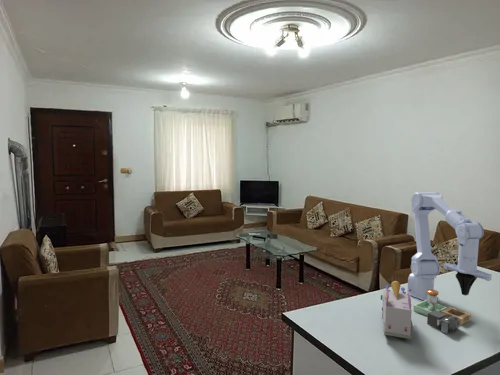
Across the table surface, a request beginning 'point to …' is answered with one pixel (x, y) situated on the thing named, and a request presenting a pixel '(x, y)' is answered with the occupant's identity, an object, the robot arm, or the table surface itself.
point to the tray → (423, 310)
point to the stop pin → (432, 299)
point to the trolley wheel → (449, 324)
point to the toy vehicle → (396, 311)
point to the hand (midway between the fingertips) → (465, 294)
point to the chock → (435, 318)
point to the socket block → (457, 314)
